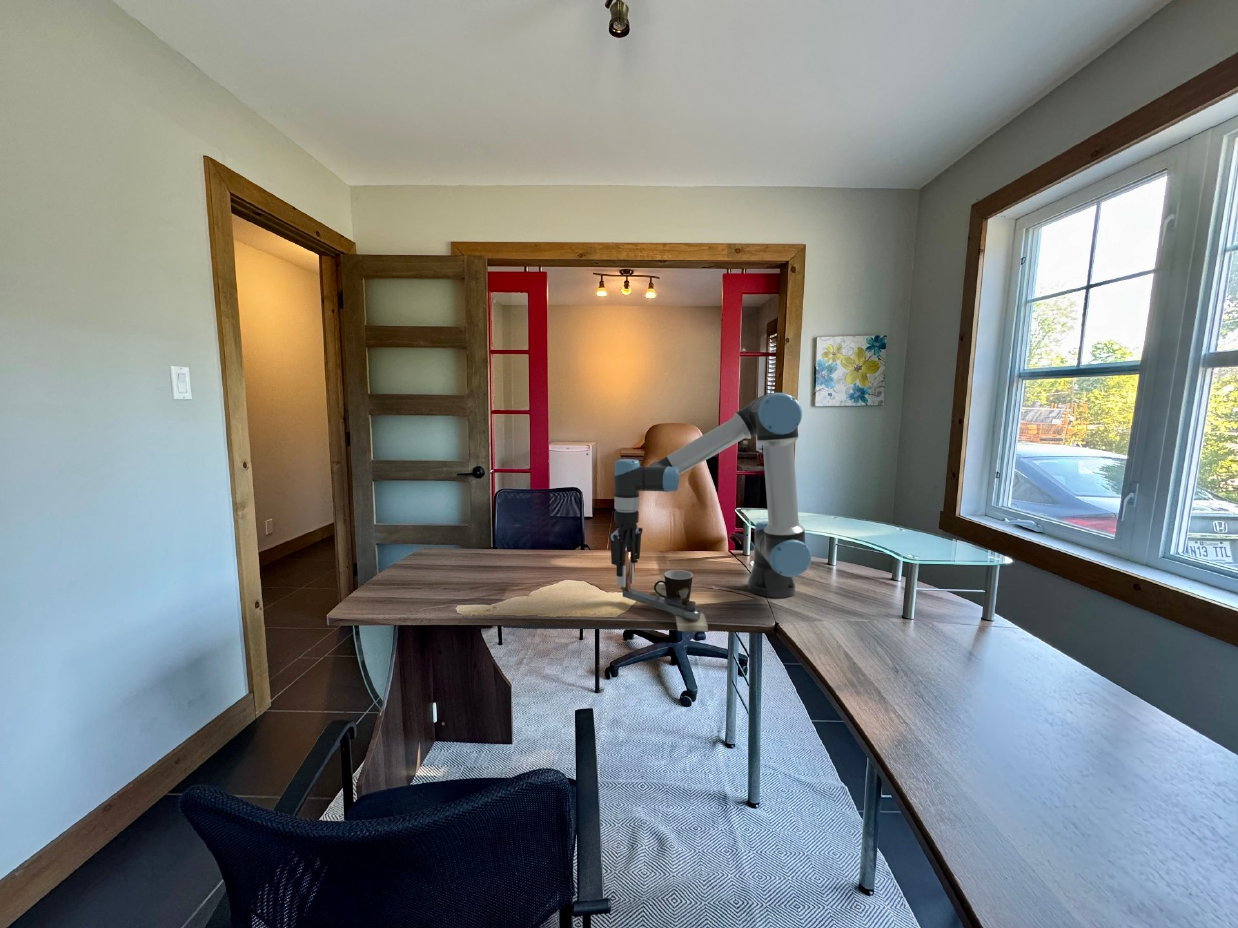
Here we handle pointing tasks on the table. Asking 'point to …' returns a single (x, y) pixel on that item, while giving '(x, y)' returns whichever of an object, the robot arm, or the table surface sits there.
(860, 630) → the table surface
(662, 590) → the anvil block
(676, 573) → the coffee mug
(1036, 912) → the table surface
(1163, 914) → the table surface
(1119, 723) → the table surface
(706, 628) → the pivot pedestal
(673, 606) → the lever
